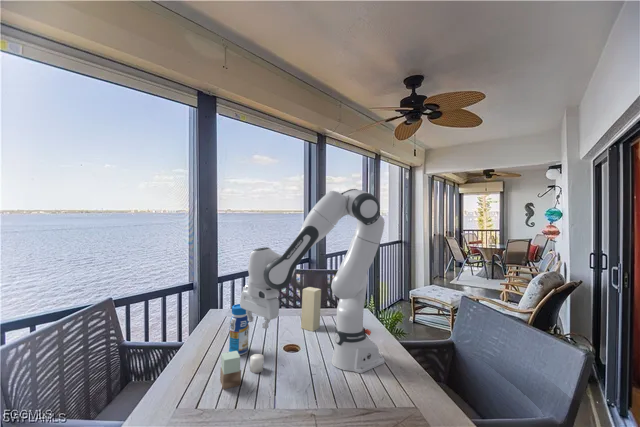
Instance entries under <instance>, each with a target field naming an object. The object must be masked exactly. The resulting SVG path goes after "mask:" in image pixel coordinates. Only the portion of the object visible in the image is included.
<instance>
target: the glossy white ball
mask: <svg viewBox="0 0 640 427" xmlns="http://www.w3.org/2000/svg"><path fill="white" fill-rule="evenodd" d="M249 358H250V362H249V363H250V364H249V372H251V374H259V373H261V372H262V373H263V371H264V355H263V354H262V353H254V354H252V355H250V357H249Z"/></svg>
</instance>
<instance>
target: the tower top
mask: <svg viewBox="0 0 640 427" xmlns="http://www.w3.org/2000/svg"><path fill="white" fill-rule="evenodd" d="M220 358H221V360H220V361H221V362H220V364H221V365H220V369H221V368H222V371H223V374H224V375H225V374H229V373H234V372H239V371H240V370H241V355H239V354H238V352H237V351H232V352H229V351H228V352H222V353H221V357H220Z"/></svg>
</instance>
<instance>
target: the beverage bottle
mask: <svg viewBox="0 0 640 427" xmlns="http://www.w3.org/2000/svg"><path fill="white" fill-rule="evenodd" d="M231 315H232V316H231V318H230V320H229V329H228V330H229V340H228V341H229V345H228V346H229V347H228V352H232V351H237V352H238V354H239V355H240V356H241V355H244V354H247V353H248V351H249V330H250V325H249V323H250V322H249V321H248V317H247V314H246V310H245V309H243V308H241V306H240V303H237V304H233V305H232V307H231Z"/></svg>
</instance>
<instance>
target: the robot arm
mask: <svg viewBox="0 0 640 427" xmlns="http://www.w3.org/2000/svg"><path fill="white" fill-rule="evenodd" d="M380 206H381V205H380V202H379V200H378V198H377V197H376V196H374V194H372V193H370V192H367V191H365V190H361V189H356V188H352V189H351V188H350V189H348V190H346V191H343V192H341V193H340V192H339V191H335V190H331V191H328V192H327V193H325V194H324V196H322V197H321V198H320V199H319V200H318V201H317V203H315V204H314V206H313V207H312V209H310V211H309V212H308V214H307V216H306V217H305V219H304V221H303V223H302V224H301V228H300V230H299V232H298V233H297V236H296V237H295V239H294V240H293V241H292V243H291V244H290V245H289V246H288V247H287V248H286V250H285V251H284V253H283V254H279V253H277V252H275V251H274V250H272V249H271V248H270V247H266V246H265V247H259V248H255V249H253V250H252V251H251V252H250V254H249V259H248V267H247V271H248V279H247V285H246V284H245V285H244V286H243V287H242V291H241V292H240V293H241V294H240V299H239V300H240V301H239V304H240V306H241V308H243V309H245V310H246V315H247V317H248V321H249V323H253V322H254V316H253V314H255V315H257V316H260V317H263V318H264V319H263V320H264V322H263V323H262V325H261V328H263V329H264V330H265V329H266V330H267V329H269V325H270V322H271V321H272V320H275V319H277V318H278V317H279V313H280V300H279V298H278V297H280V292H279V290H283V289H285V288H287V287H288V286H289V285H290V283H291V281H292V278H293V276H294V275H295V272H296V267H297V266H298V264H300V262H301V260H302V259H303V258H304V257H305V255H306V254H308V251H309V250H310V249H312V247H313V246H315V245H316V244H317V243H319V242H320V241H321V240H323V239H324V238H325V237H326V236H328V234H330V233H331V231H333V229H334V227H335V226H336V225H337V224H338V223H339V221H340V220H341V219H342V218H343V217H345V216H347V215H349V216H350V217H351V218H355V219H356V227H355V230H354V233H353V236H352V238H351V240H350V243H349V246H348V250H347V252H346V253H345V255H344V257H343V259H342V261H341V263H340V265H339V267H338V269H337V270H336V271H337V272H336V274H335V275H334V277H333V279H332V280H331V285H330V286H331V287H330V288H331V291H332V294H333V295H334V296H335V297H336V298H338V299H339V300H338V304H337V307H336V324H335V325H336V326H335V327H334V328H335V330H334V348H333V354H332V357H331V361H330V362H331V364H332V365H333V366H334V367H335V368H338V369H340V370H341V371H343V370H344V371H348V372H349V371H350V372H354V373H357V374H362V373H366V372H367V371H370V370H373V368H376V367H378V366H381V365H383V364H385V361H386V360H385V358H384V357H383V356H382V354H380V352H379V347H378V345H377V344H376V343H375V342H374V341H373V340H371V339H370V338H369V337H368V336H371V334H372V331H371V330H370V329H368V328H365V327H364V311H365V310H364V309H365V302H366V296H367V295H366V294H367V288H368V282H369V275H368V272H369V270H370V268H371V266H372V264H373V262H374V259H375V257H376V253H377V251H378V250H379V246H380V243H381V240H382V236H383V233H384V229H385V219H384V217H383V216H382V215H381V213H380V208H381V207H380ZM252 313H253V314H252Z"/></svg>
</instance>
